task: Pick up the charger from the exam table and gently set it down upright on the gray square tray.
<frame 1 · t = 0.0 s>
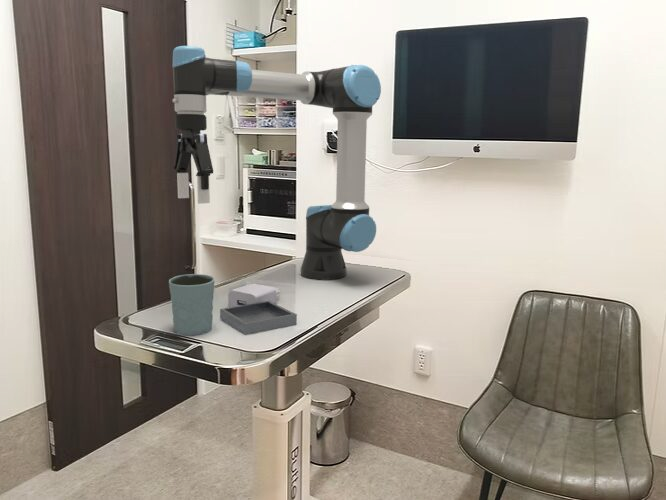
hand: (193, 200, 139), 28 cm above the table, fingers open, 13 cm apart
green cup: (193, 330, 128), on the table
charger: (259, 303, 150), on the table
gray square tray: (257, 321, 134), on the table
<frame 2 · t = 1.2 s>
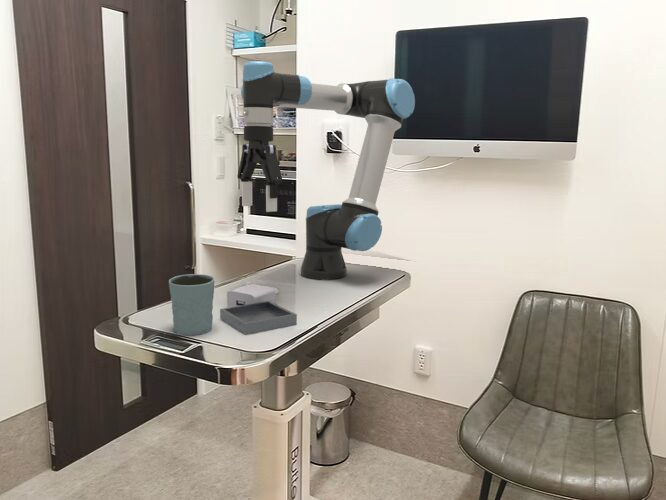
hand: (258, 208, 145), 26 cm above the table, fingers open, 13 cm apart
nothing on the table moved.
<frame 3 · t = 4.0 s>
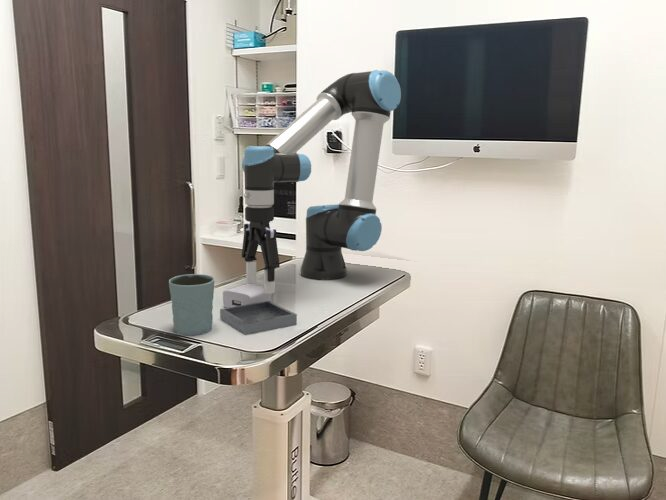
hand: (260, 288, 149), 4 cm above the table, fingers closed on charger, 9 cm apart
charger: (255, 304, 149), on the table, touching gripper
everything else where it was.
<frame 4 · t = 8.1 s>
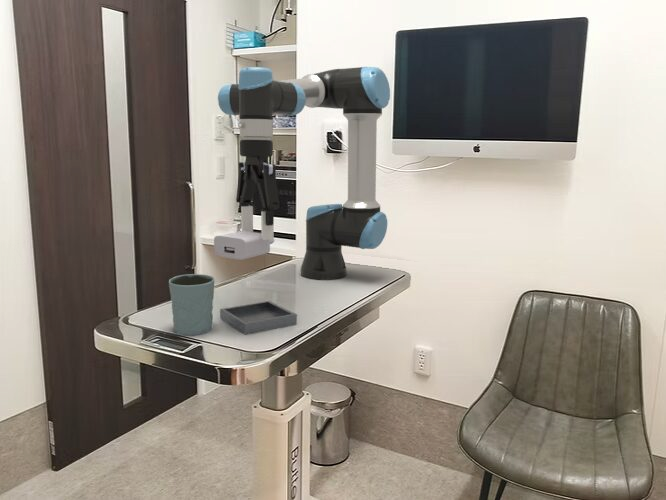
hand: (257, 236, 130), 21 cm above the table, fingers closed on charger, 9 cm apart
charger: (251, 253, 130), point 17 cm above the table, touching gripper
everything else where it was.
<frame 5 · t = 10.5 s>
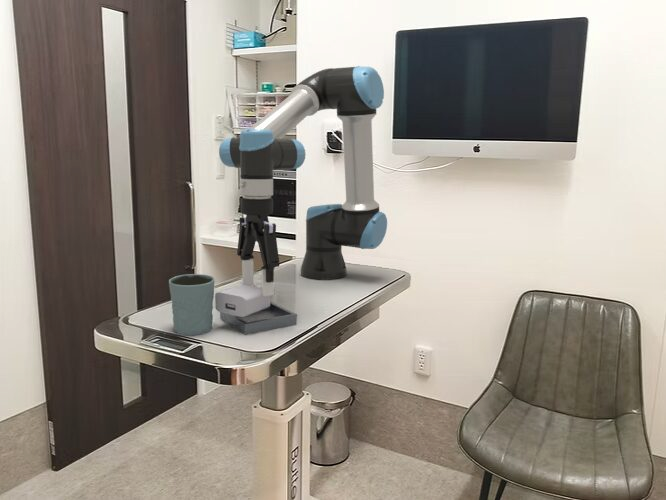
hand: (257, 290, 133), 8 cm above the table, fingers closed on charger, 9 cm apart
charger: (251, 307, 133), point 4 cm above the table, touching gripper
everything else where it was.
when the fingers open (5 cm above the table, at t = 12.5 s): charger stays where it is, resting on gray square tray.
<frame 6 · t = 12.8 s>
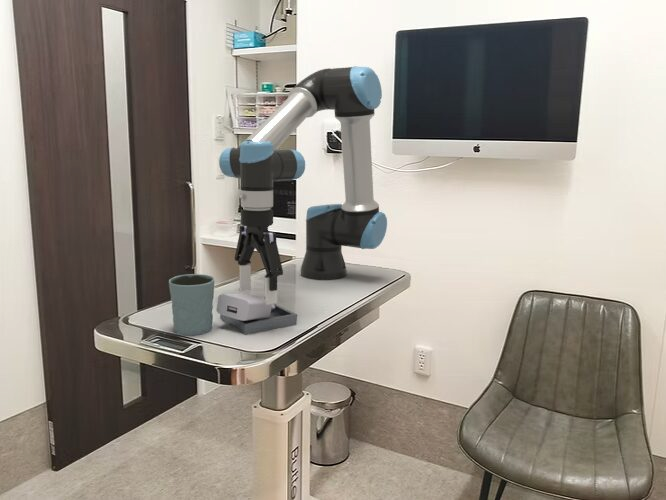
hand: (257, 296, 133), 6 cm above the table, fingers open, 13 cm apart
charger: (251, 316, 133), point 2 cm above the table, touching gray square tray
everything else where it was.
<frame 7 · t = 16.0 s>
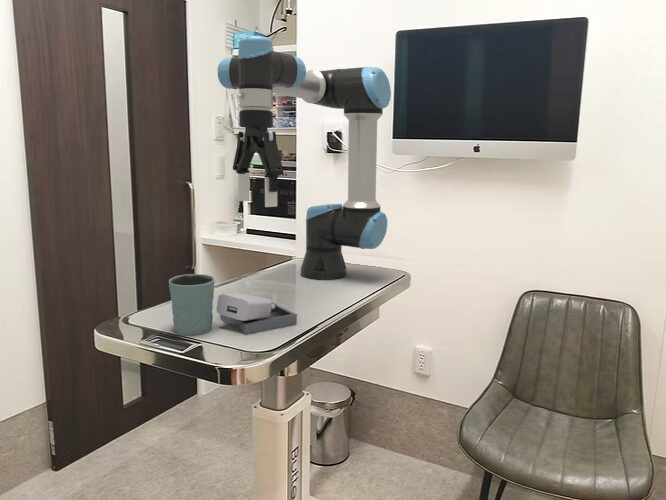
hand: (256, 203, 129), 29 cm above the table, fingers open, 13 cm apart
nothing on the table moved.
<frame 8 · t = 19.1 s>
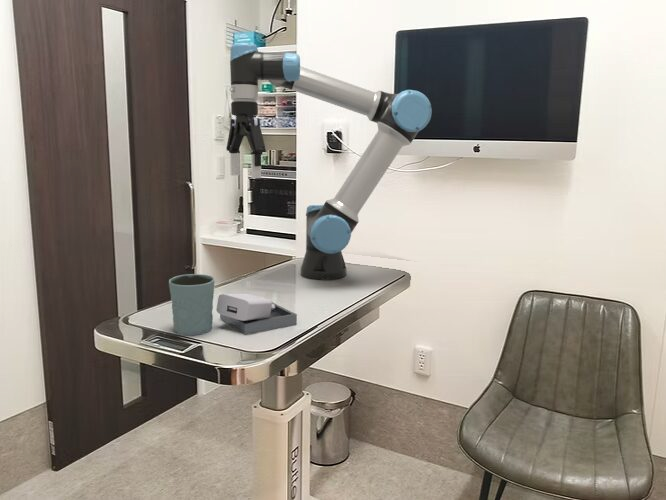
hand: (245, 176, 161), 33 cm above the table, fingers open, 13 cm apart
nothing on the table moved.
at the end: charger 1.7 cm off-centre on the gray square tray, point 1.5 cm above the gray square tray's base; charger tilted 12°; the gripper is holding nothing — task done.
